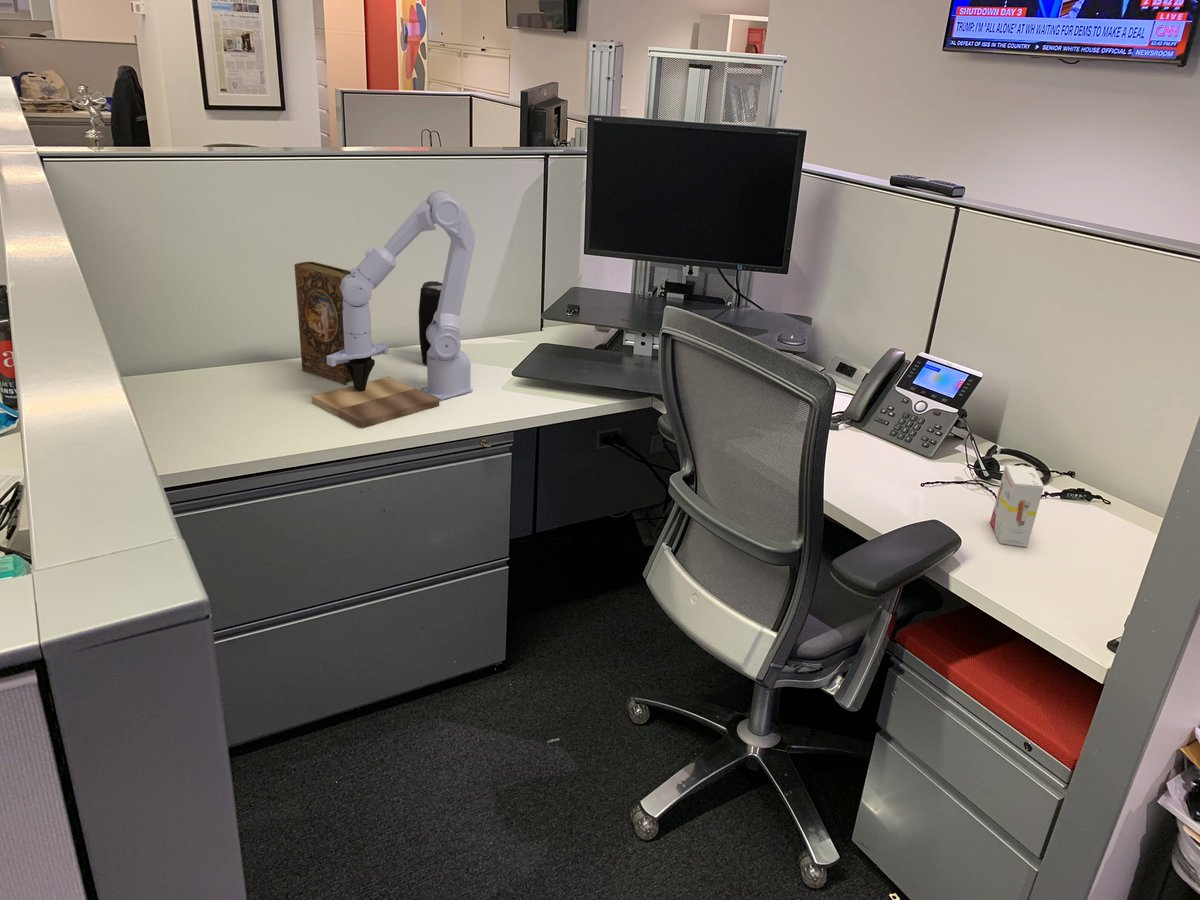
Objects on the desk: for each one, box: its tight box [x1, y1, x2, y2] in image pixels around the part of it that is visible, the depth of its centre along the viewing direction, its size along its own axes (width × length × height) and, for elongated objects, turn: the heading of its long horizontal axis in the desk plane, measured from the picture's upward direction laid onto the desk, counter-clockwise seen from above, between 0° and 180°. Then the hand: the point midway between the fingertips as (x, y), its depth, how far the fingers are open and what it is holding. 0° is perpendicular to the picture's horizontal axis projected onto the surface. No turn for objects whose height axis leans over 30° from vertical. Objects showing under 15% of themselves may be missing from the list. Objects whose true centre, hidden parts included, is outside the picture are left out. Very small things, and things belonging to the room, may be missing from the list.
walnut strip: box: [339, 388, 440, 429], centre depth 194 cm, size 20×8×2 cm, turn 138°
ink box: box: [989, 464, 1044, 548], centre depth 158 cm, size 9×5×12 cm, turn 168°
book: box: [293, 261, 353, 385], centre depth 208 cm, size 16×6×25 cm, turn 58°
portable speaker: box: [418, 280, 443, 364], centre depth 221 cm, size 9×9×20 cm
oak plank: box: [311, 376, 417, 416], centre depth 200 cm, size 20×10×2 cm, turn 138°
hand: (360, 390), depth 200 cm, fingers closed, pressing on oak plank
